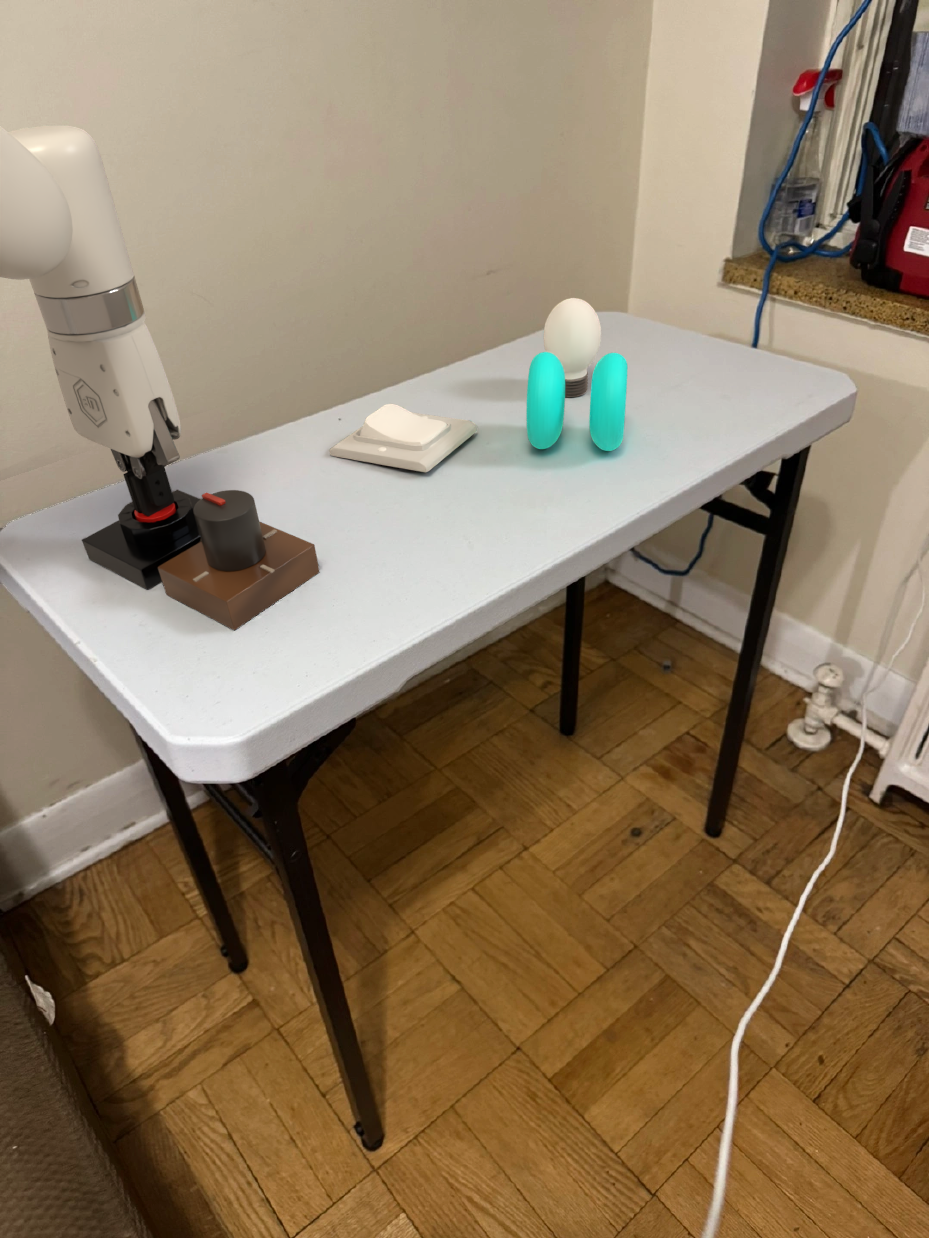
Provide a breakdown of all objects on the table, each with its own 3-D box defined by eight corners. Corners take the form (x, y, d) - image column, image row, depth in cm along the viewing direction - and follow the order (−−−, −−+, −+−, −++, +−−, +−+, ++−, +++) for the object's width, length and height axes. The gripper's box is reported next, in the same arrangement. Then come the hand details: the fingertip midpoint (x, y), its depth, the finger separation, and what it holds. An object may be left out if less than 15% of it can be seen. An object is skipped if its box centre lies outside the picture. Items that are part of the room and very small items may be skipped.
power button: (155, 539, 79) (150, 522, 77) (131, 527, 80) (126, 511, 79) (187, 521, 81) (182, 505, 80) (163, 510, 83) (158, 494, 81)
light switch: (380, 388, 100) (475, 400, 94) (385, 421, 103) (479, 435, 97) (323, 426, 93) (422, 442, 87) (330, 461, 96) (427, 478, 90)
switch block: (147, 590, 76) (134, 552, 74) (88, 559, 81) (74, 522, 78) (242, 534, 83) (233, 497, 81) (182, 508, 88) (172, 472, 85)
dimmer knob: (277, 550, 75) (266, 496, 72) (233, 578, 72) (219, 523, 69) (239, 533, 77) (226, 481, 74) (195, 559, 74) (179, 506, 71)
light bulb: (597, 402, 102) (602, 309, 96) (540, 401, 103) (541, 309, 97) (599, 380, 108) (603, 289, 101) (545, 379, 109) (546, 289, 102)
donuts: (534, 423, 99) (534, 337, 93) (622, 425, 97) (628, 338, 91) (525, 465, 91) (524, 374, 85) (621, 468, 90) (628, 376, 83)
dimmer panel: (235, 631, 71) (226, 600, 69) (165, 594, 76) (155, 565, 74) (320, 572, 77) (315, 543, 75) (251, 542, 82) (244, 513, 80)
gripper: (-2, 306, 70) (73, 503, 81) (107, 339, 62) (174, 551, 74) (79, 279, 74) (140, 470, 86) (190, 308, 67) (241, 512, 78)
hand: (155, 507), depth 80 cm, fingers closed
